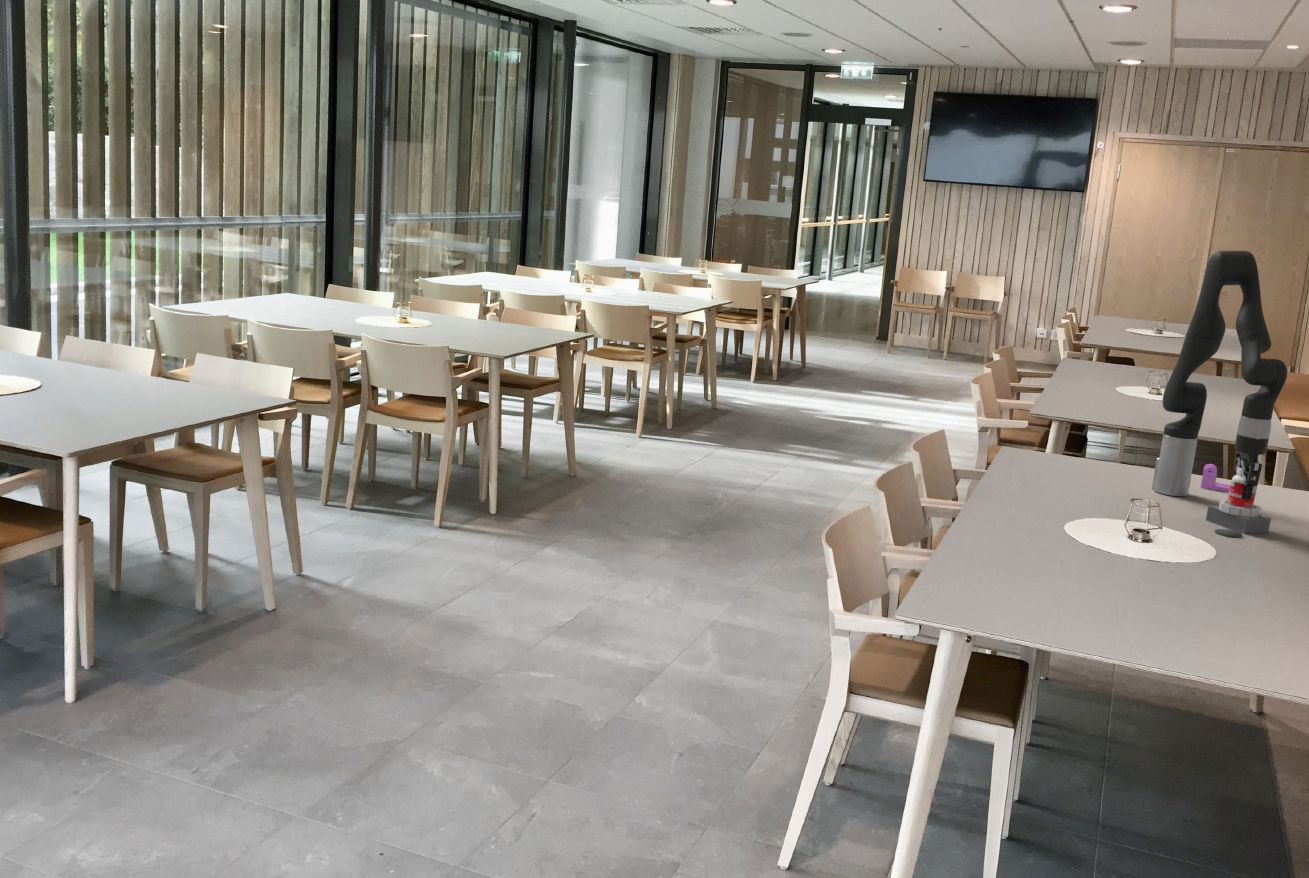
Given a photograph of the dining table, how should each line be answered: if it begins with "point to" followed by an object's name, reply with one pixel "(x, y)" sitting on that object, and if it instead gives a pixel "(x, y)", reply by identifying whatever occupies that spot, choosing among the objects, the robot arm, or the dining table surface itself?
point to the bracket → (1212, 479)
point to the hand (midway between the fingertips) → (1242, 496)
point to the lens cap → (1228, 533)
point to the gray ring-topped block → (1239, 518)
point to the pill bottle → (1239, 492)
